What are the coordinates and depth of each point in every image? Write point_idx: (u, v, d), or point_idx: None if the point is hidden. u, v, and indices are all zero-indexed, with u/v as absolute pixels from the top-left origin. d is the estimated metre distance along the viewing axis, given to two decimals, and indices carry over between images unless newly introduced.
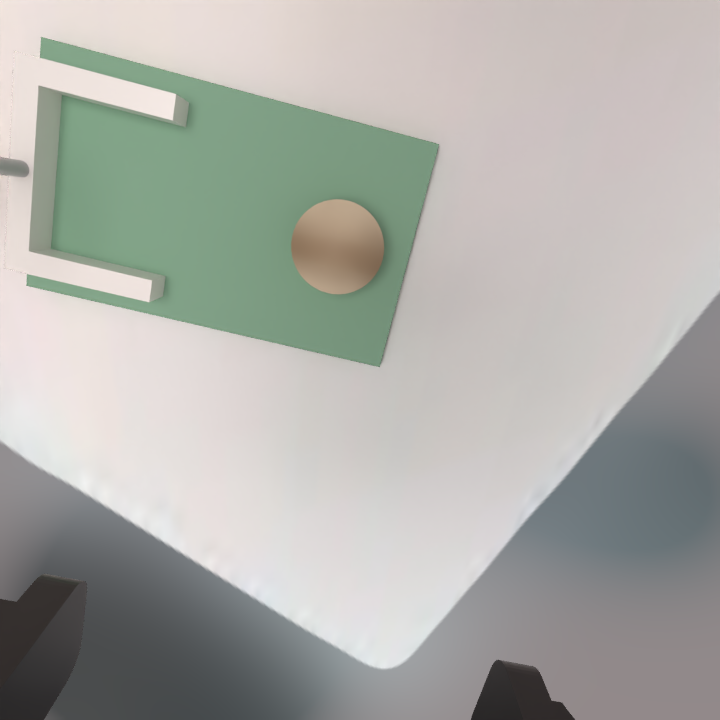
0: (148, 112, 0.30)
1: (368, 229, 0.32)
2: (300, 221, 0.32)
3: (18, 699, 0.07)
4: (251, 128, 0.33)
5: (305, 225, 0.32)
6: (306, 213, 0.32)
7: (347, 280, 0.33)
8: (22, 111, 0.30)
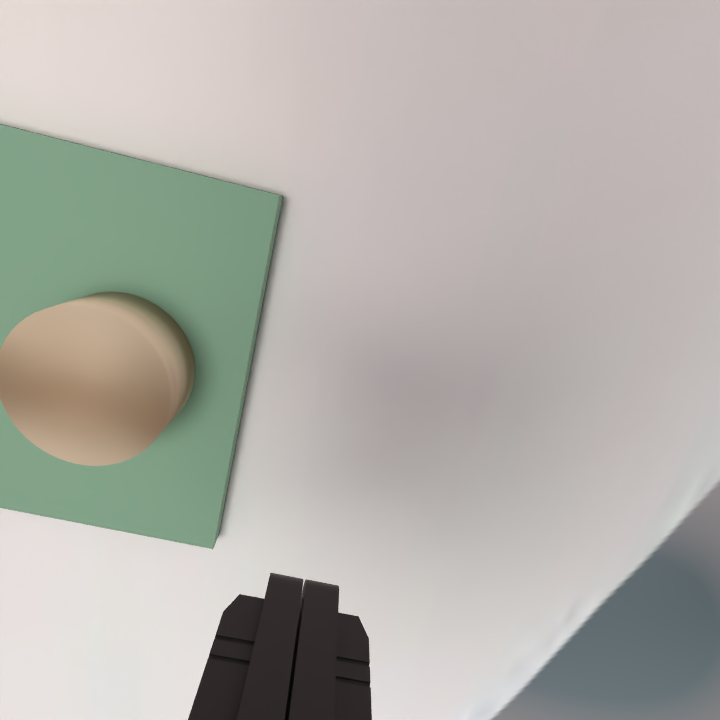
0: None
1: (137, 358, 0.17)
2: (7, 343, 0.17)
3: None
4: None
5: (17, 349, 0.17)
6: (16, 330, 0.17)
7: (109, 443, 0.18)
8: None
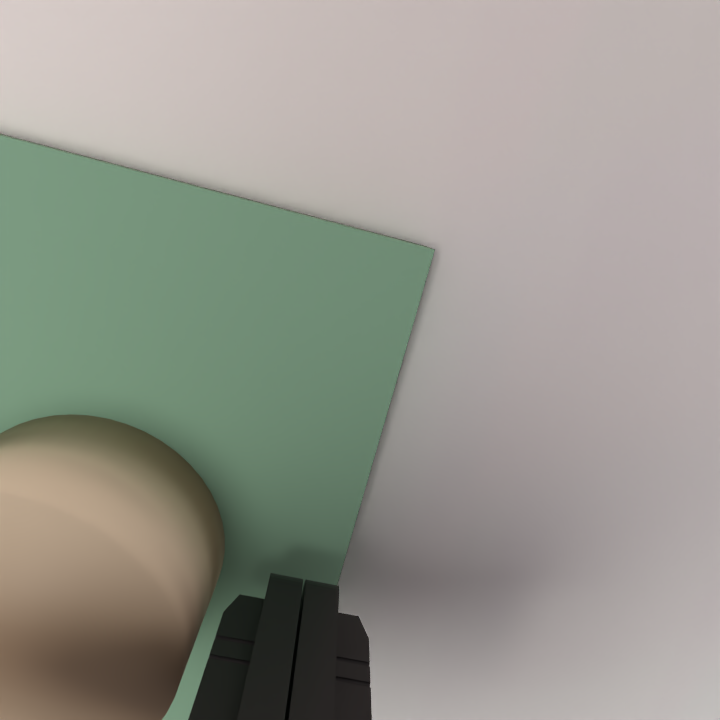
0: None
1: (114, 593, 0.08)
2: None
3: None
4: None
5: None
6: None
7: None
8: None
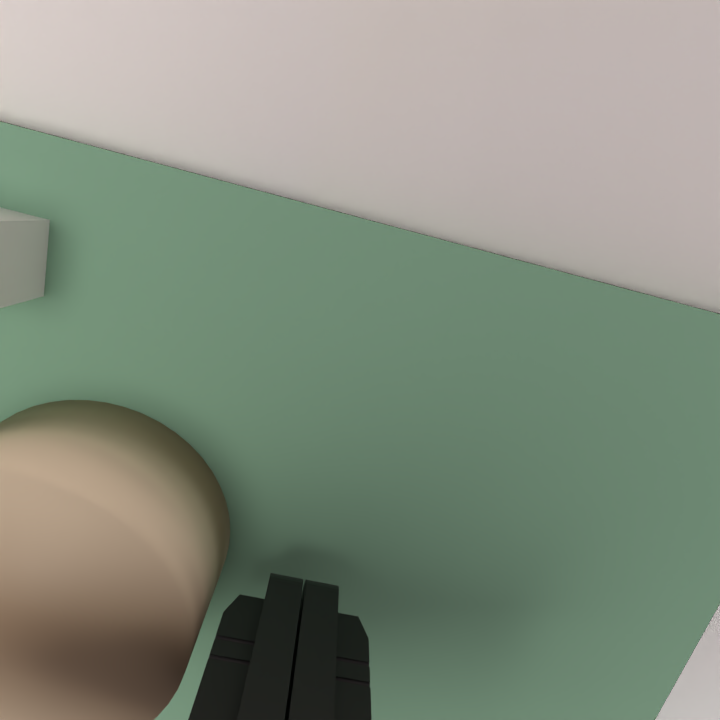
0: None
1: (128, 582, 0.08)
2: None
3: None
4: (262, 301, 0.10)
5: None
6: None
7: None
8: None
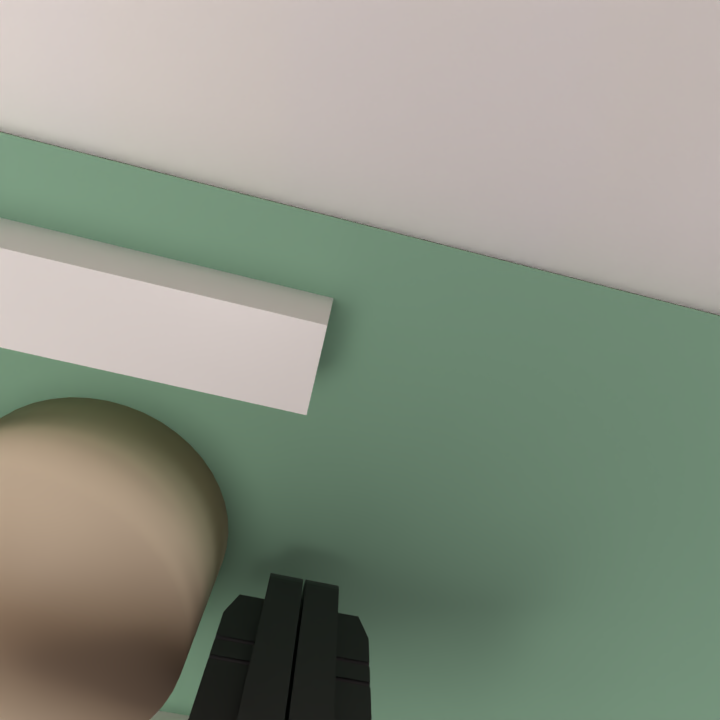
0: (215, 390, 0.08)
1: (126, 582, 0.08)
2: None
3: None
4: (524, 370, 0.10)
5: None
6: None
7: None
8: None
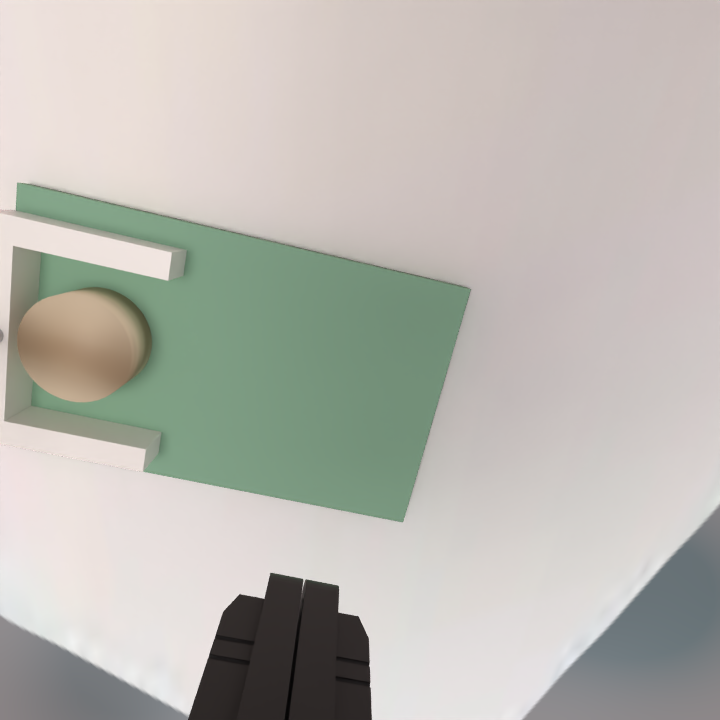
0: (140, 272, 0.26)
1: (111, 333, 0.27)
2: (27, 315, 0.26)
3: None
4: (258, 276, 0.29)
5: (33, 319, 0.26)
6: (34, 306, 0.26)
7: (87, 387, 0.27)
8: None
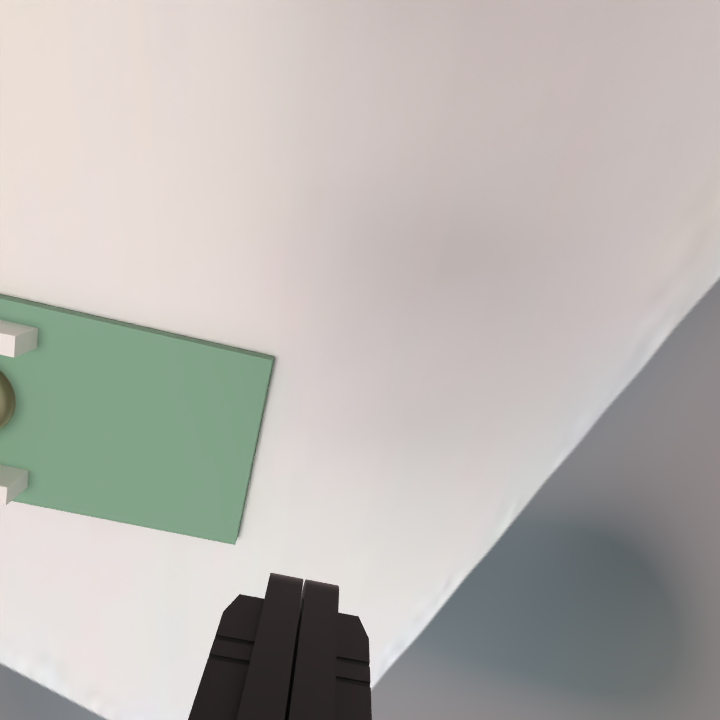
0: None
1: None
2: None
3: None
4: (97, 348, 0.36)
5: None
6: None
7: None
8: None
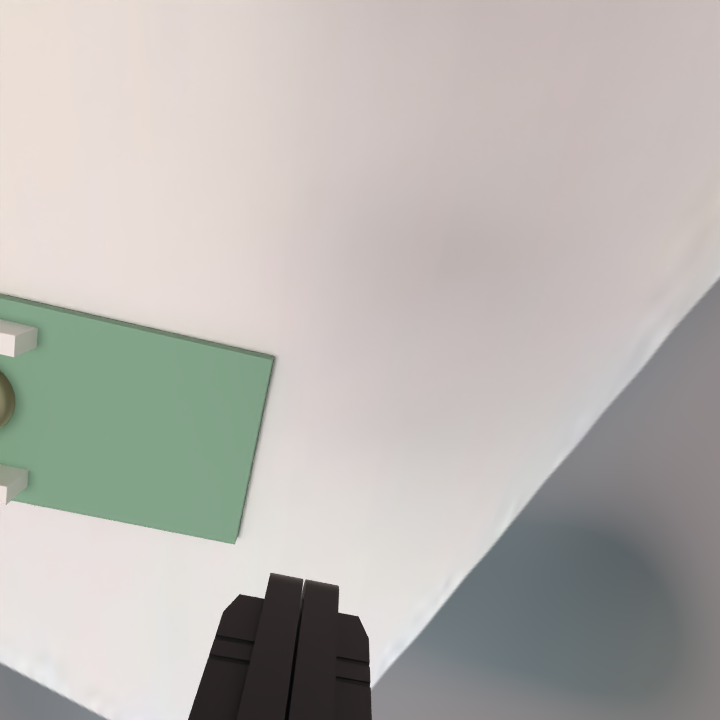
0: None
1: None
2: None
3: None
4: (97, 348, 0.36)
5: None
6: None
7: None
8: None
